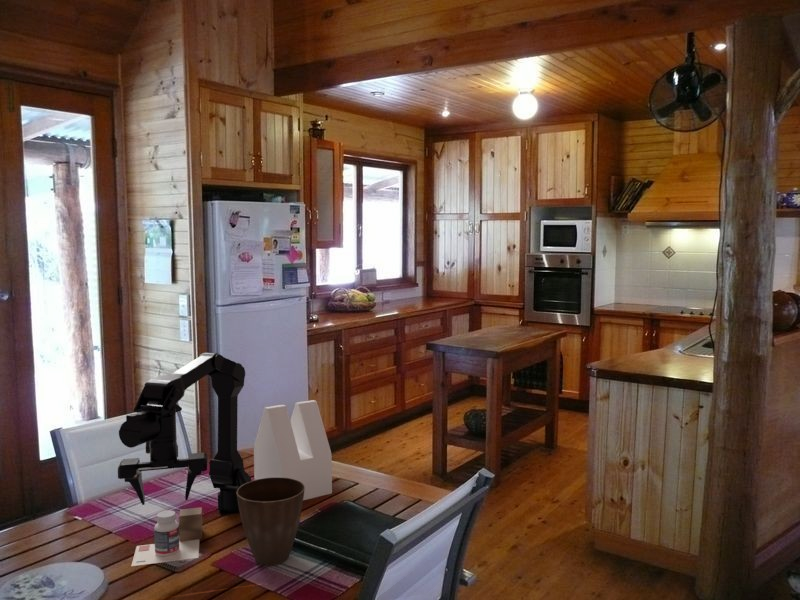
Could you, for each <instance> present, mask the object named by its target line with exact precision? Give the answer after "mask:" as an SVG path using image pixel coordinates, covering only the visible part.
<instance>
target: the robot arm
mask: <svg viewBox="0 0 800 600" xmlns="http://www.w3.org/2000/svg"><path fill="white" fill-rule="evenodd" d="M206 376H208V377H209V378H210V382H211V388H212V389H213V390H214V392H215V394H216V396H217V452H216V454H214V455H215V456H214V457H213V458H212V459H211V458H210V459H209V462H208V454H207V453H206V452H196V453H195V452H194V453H189V455H188V458H179V446H178V442H177V441H178V440H177V437H178V436H177V416H176V415H177V413H178V412H181V411H182V410H183V408H182V406H180V405H178V404H177V403H179V401H180V400H181V399H182V398H183V397H184V396H185V392H186V390H187V389H188V388H189V387H191V386H193V385H194V384H196V383H197V382H198V381H200V380H202V379H203V378H204V377H206ZM245 377H246V370H245V367H244V366H243V365H242V363H239V362H236V361H233V360H231V359H229V358H226V357H224V356H223V355H222V354H220V353H218V352H203V353H201V354H199V356H198V357H196V358H195V359H193V360H191V361H190V362H189V363H186V364H185V365H184V366H182V367H180V368H178V369H177V370H175V371H174V372H172V373H169V374H165V375H158V376H155V377H152V378H150V379H148V380H147V381H146V382H145V383H144V386H143V387H142V391H141V393H140V395H139V396H138V400H137V402H136V404H135V405H134V406H135V407H134V409H133V413H129V414H126V415H125V420H124V422H123V423H122V424H121V425H120V426H119V430H118V436H119V439H120V442H121V443H122V444H123V445H124V446H125V447H127V448H131V449H132V448H135V447H138V446H140V445H143V444H145V453H146V454H148V455H149V460H150V461H144V462H143V461H142V462H140V457H134V458H123V459H122V460H121V461H120V463H119V465H118V466H117V479H119V480H123V479H124V482H125V483H130V485H131V487H132V488H133V490H134V491H135V493H136V495H137V497H138V498H139V501H140V503H141V505H142V506H145V503H146V501H145V500H146V499H145V490H144V485H143V478H142V477H143V476H142V475H143V473H142V472H148V471H159V470H169V469H181V468H187V476H186V483H185V484H186V485H185V486H186V487H185V493H184V494H185V495H184V498H185V501H188V499H189V496H190V493H191V490H192V486H193V485H194V482H195V480H196V478H197V476H201V475H202V472H206V471H208V467H209V471H208V476H210V481H211V484H212V487H213V488H214V489H219V491H218V492H217V511H219V515H220V516H226V515H236V514H240V511H239V505H238V500H237V493H236V492H237V489H238V488H239V487H240V486H242V485H243V484H245V483H247V482H250V481H252V477H251V476H250V475H249V474H248V473H247V471H246V470H245V465H244V460H243V457H242V456H241V454H240V453H239V451H238V406H239V405H238V397H239V394H240V393H241V391H242V389H243V387H244V386H245ZM208 463H209V464H208ZM208 465H209V466H208Z"/></svg>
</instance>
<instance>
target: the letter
mask: <svg viewBox="0 0 800 600" xmlns="http://www.w3.org/2000/svg"><path fill="white" fill-rule="evenodd" d="M200 540H201V539H197V540H189V541H181V542H180V540H179V551H178V552H177V553H175V554H173V555H170V556H158V555H156V553H155V543H150V544H143V545H136V546H135V551H134V555H133V559H132V562H131V565H130V566H131V567H137V566H145V565H152V564H159V563H161V564H162V563H167V562H168V563H169V562H177V561H184V560H185V561H186V560H193V559H199V553H200V552H199V551H200Z"/></svg>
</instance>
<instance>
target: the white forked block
mask: <svg viewBox="0 0 800 600" xmlns="http://www.w3.org/2000/svg"><path fill="white" fill-rule="evenodd" d="M318 404H319V403H318V401H317V400H315V399H312V400H306V401H305V400H304V401H298V402H295V404H294V408H293V411H292V414H291V417H290V415H289V414H290V413H289V410H288V407H287V405H285V404H278V405H272V406H264V408H263V412H262V415H261V419H260V423H259V426H258V430H257V433H256V438H255V440H254V445H253V471H254V472H253V474H254V475H253V476H254V479H253V481H254V480H258V479H263V478H275V477H279V478H290V479H294V480H297V481H300V482H301V483H303V484H304V486H305V489H304V497H303V501H306V500H310V499H315V498H318V497H322V496H326V495H331V494H332V493H333V471H332V469H333V466H332V465H333V463H332V461H333V460H332V459H333V458H332V455H333V454H332V451H331V446H330V444H329V439H328V437H327V436H328V435H327V433H326V429H325V426H324V425H325V424H324V422H323V419H322V418H323V417H322V415H321V412H320V408H319V405H318Z"/></svg>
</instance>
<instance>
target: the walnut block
mask: <svg viewBox="0 0 800 600" xmlns="http://www.w3.org/2000/svg"><path fill="white" fill-rule="evenodd" d="M178 515H179V516H178V524H179V541H180V542H181V541H189V540H197V539H200V540H202V539H203V508H202V507H191V508H183V509H182V508H181V509H180V510H179V514H178Z"/></svg>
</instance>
